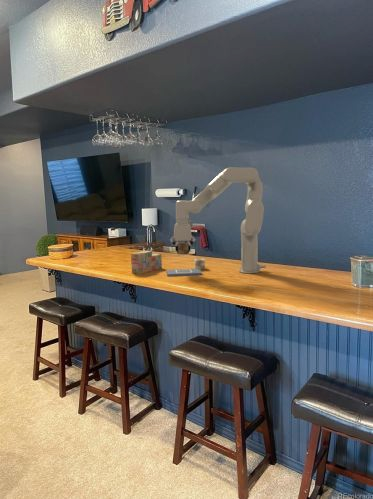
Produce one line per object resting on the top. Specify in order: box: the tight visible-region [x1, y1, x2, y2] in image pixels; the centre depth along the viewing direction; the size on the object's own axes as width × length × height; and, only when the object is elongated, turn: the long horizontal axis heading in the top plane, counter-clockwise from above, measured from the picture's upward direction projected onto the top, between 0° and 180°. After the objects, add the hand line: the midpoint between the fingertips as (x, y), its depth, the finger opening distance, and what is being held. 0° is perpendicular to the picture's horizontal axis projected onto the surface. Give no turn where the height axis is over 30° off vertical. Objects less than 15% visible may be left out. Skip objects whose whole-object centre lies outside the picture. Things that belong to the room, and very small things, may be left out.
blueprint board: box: [166, 268, 203, 277], centre depth 222 cm, size 20×14×1 cm
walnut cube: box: [177, 242, 190, 255], centre depth 220 cm, size 6×6×6 cm
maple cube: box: [193, 258, 206, 271], centre depth 234 cm, size 6×6×6 cm
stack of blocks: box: [130, 250, 163, 275], centre depth 232 cm, size 21×6×12 cm, turn 144°
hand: (182, 252), depth 220 cm, fingers closed on walnut cube, 6 cm apart
